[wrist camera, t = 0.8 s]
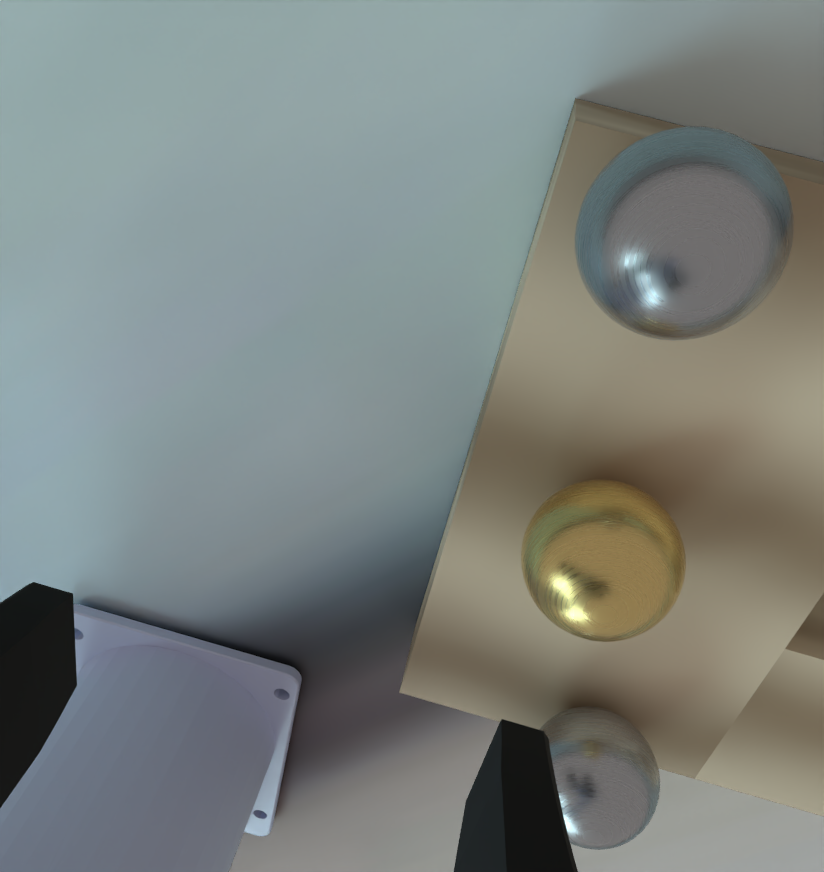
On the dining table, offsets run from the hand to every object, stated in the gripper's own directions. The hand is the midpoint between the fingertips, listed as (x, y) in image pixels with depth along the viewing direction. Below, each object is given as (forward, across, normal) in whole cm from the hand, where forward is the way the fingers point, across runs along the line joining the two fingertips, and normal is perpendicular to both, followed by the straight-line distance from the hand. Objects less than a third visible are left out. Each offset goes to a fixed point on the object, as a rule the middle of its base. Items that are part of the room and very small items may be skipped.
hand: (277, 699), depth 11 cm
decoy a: (+5, -7, +6) cm, 11 cm away
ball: (+5, -5, 0) cm, 7 cm away
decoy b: (+5, -4, -6) cm, 9 cm away
